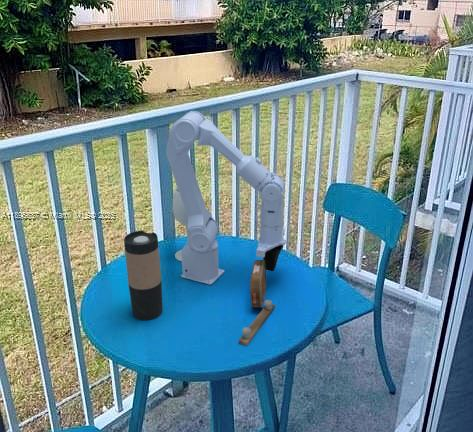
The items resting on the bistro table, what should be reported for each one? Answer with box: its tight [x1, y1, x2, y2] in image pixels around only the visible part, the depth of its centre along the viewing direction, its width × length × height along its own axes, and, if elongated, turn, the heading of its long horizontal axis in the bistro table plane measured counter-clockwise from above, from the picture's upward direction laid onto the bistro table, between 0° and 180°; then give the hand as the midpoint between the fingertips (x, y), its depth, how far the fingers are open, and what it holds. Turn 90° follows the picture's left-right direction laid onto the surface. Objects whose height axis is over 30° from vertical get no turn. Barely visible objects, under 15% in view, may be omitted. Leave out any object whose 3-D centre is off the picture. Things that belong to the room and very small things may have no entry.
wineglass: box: [172, 186, 189, 262], centre depth 137 cm, size 9×9×21 cm
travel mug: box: [123, 230, 163, 321], centre depth 111 cm, size 8×8×20 cm
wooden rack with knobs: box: [238, 299, 276, 347], centre depth 110 cm, size 2×16×3 cm, turn 154°
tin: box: [249, 259, 267, 309], centre depth 119 cm, size 15×3×8 cm, turn 172°
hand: (270, 269), depth 127 cm, fingers closed
